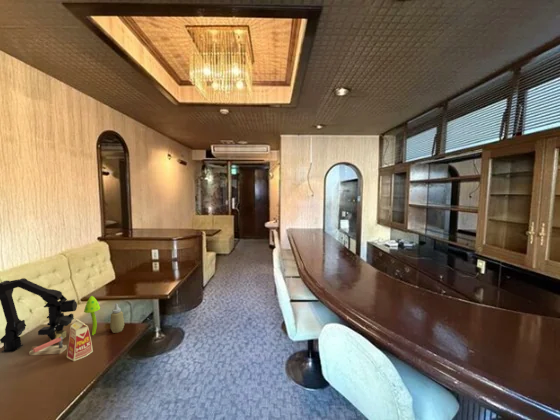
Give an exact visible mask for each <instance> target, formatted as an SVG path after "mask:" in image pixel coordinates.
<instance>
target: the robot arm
mask: <svg viewBox="0 0 560 420" xmlns="http://www.w3.org/2000/svg"><path fill="white" fill-rule="evenodd" d="M16 288H19V289H23V290H24V291H27V292H29V293H31V294H33V295H36V296H39V297H40V298H41V299H42V300H43V301H44V302H45V303H46V304H45V305H44V306H43V308H47V309H48V315H47V316H46V319H48V322H47V324H46V325H47V326H43V327H41V328H40V329H38V331H37V335H38V336H44V335H45V336H48V338H49V340H50V339H51V340H54V339H55V332H56V331H61V330H63V329H64V327H68V326H69V325H71V324H72V321H73V320H74V319H75V318H74V317H75V316H74V313H72V312H76V311H77V308H78V303H77V301H76V300H75V299H70V300H69V299H67V298H66V297H65V296H64V295H63V293H62V291H61V290H58V289H51V288H46V287H44V286H42V285H40V284H37V283H35V282H33V281H30V280H28V279H27V278H24V277H23V278H19V279H14V280H2V281H1V282H0V304H1V307H2V312H3V314H4V318H5V322H6V324H5V328H4V334H5V335H4V336H2V337H1V338H0V343H1V344H3V350H1V353H13V352H15V351H18V350H19V349H20V348H21V347H23V346H24V344H22V340H21V335H22V334H23V332H24V331H25V330H26V327H27V325H26V321H25V319H20V318H19V316H18V312H17V309H16V304H15V301H14V298H13V294H14V293H13V292H14V289H16ZM69 312H71V313H69ZM65 313H69V314H67V315H66V314H65Z"/></svg>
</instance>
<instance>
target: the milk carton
mask: <svg viewBox="0 0 560 420" xmlns="http://www.w3.org/2000/svg"><path fill="white" fill-rule="evenodd" d="M66 351H67V353H66V358H67V359H69V360H71V361H73V362H76V361H78V360H81V359H83V358H86V357H87V356H90V355H91V354H92V353H93V352H94V350H93V344H92V337H91V332H90V329H89V325H87V324H85V322H83V321H81V320H80V319H78V318H75V321H74V322H73V323H71V324H70V327H69V337H68V344H67V350H66Z"/></svg>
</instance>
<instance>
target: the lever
mask: <svg viewBox="0 0 560 420" xmlns="http://www.w3.org/2000/svg"><path fill="white" fill-rule="evenodd" d="M59 341H62V342H63V340H62V337H59V338H56V339H54V340H52V341H50V340H49V341H48V342H45V343H43V344H40V345H38V346H36V348H34V349H33V352H37V351H40V350H42V349H44V348H46V347H48V346H54V344H57V343H59Z"/></svg>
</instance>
